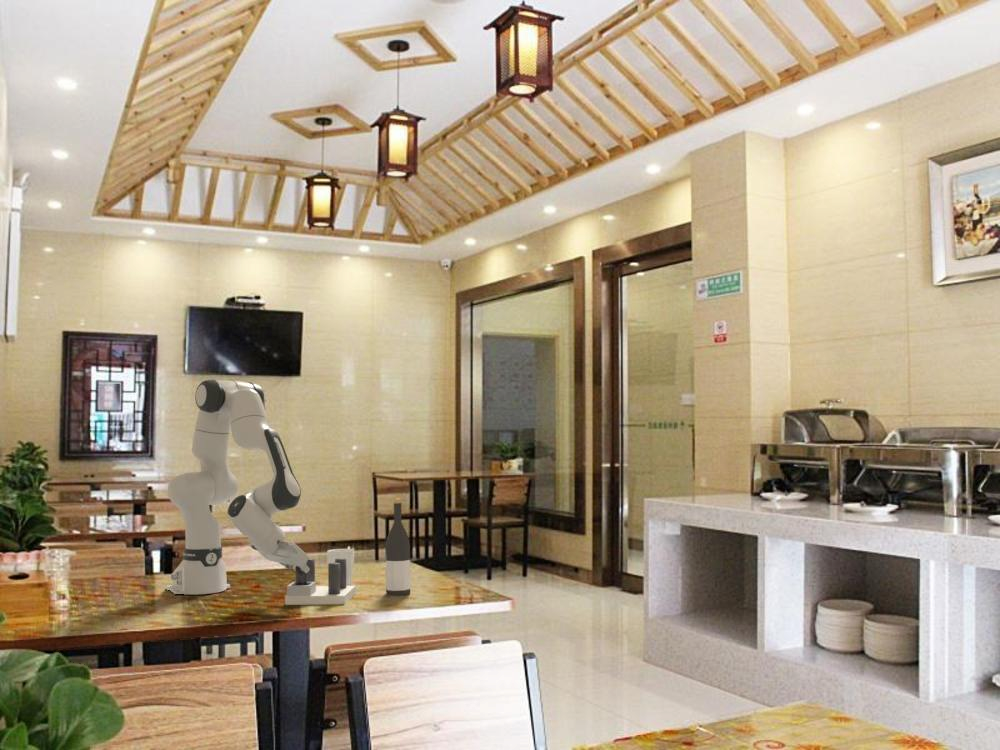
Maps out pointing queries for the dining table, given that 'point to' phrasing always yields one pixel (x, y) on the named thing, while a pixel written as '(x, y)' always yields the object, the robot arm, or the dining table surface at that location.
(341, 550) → the cup
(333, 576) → the white board with pegs
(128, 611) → the dining table surface
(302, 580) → the dark rounded cylinder
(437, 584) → the dining table surface
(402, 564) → the wine bottle
